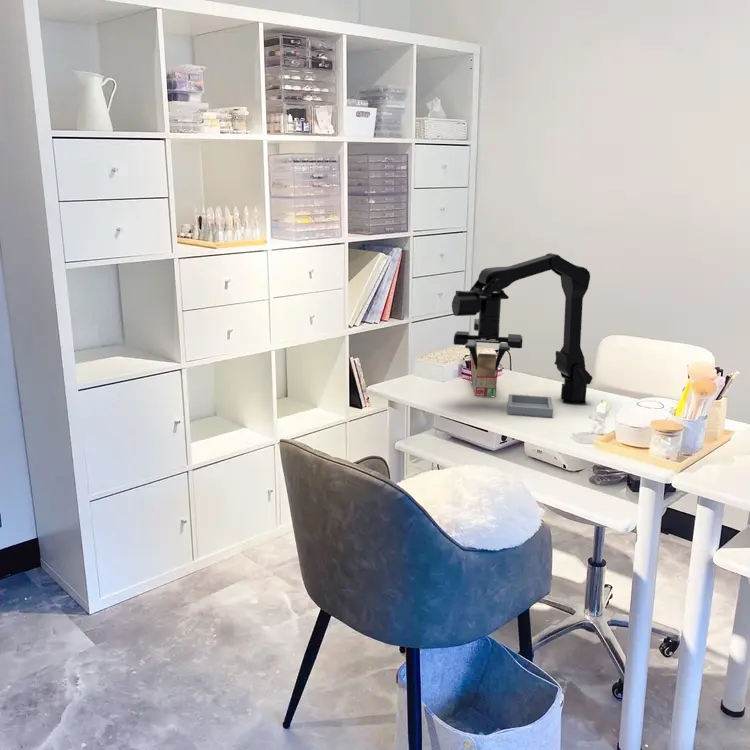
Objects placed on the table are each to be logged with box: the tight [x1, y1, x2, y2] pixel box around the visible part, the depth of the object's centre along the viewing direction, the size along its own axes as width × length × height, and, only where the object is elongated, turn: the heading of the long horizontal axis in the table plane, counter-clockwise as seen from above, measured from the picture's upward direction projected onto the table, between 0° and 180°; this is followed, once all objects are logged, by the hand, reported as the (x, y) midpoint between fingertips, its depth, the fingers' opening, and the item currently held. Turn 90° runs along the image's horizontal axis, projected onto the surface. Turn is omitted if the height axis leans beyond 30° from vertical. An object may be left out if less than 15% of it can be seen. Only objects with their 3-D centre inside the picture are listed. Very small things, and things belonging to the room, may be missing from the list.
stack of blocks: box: [469, 347, 499, 398], centre depth 238 cm, size 21×6×12 cm, turn 179°
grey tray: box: [507, 393, 554, 419], centre depth 217 cm, size 12×12×2 cm
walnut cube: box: [477, 353, 497, 376], centre depth 216 cm, size 5×5×5 cm
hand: (486, 369), depth 217 cm, fingers closed on walnut cube, 5 cm apart
